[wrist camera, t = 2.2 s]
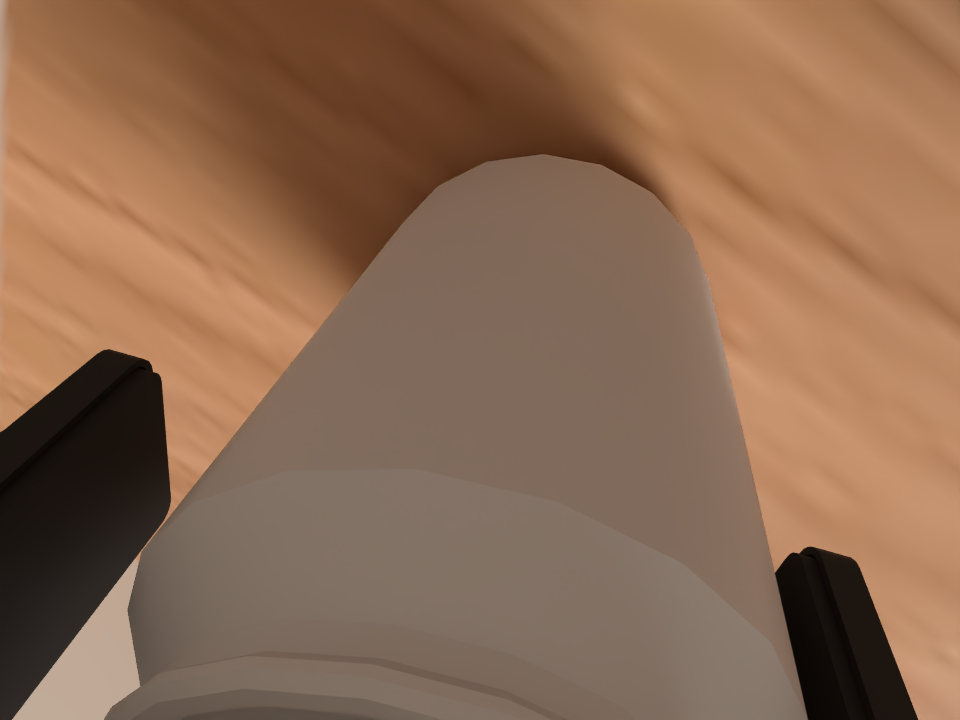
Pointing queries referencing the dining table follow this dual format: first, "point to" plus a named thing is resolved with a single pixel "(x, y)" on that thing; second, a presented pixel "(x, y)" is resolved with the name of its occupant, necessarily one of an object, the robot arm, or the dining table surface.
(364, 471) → the can
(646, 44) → the dining table surface
